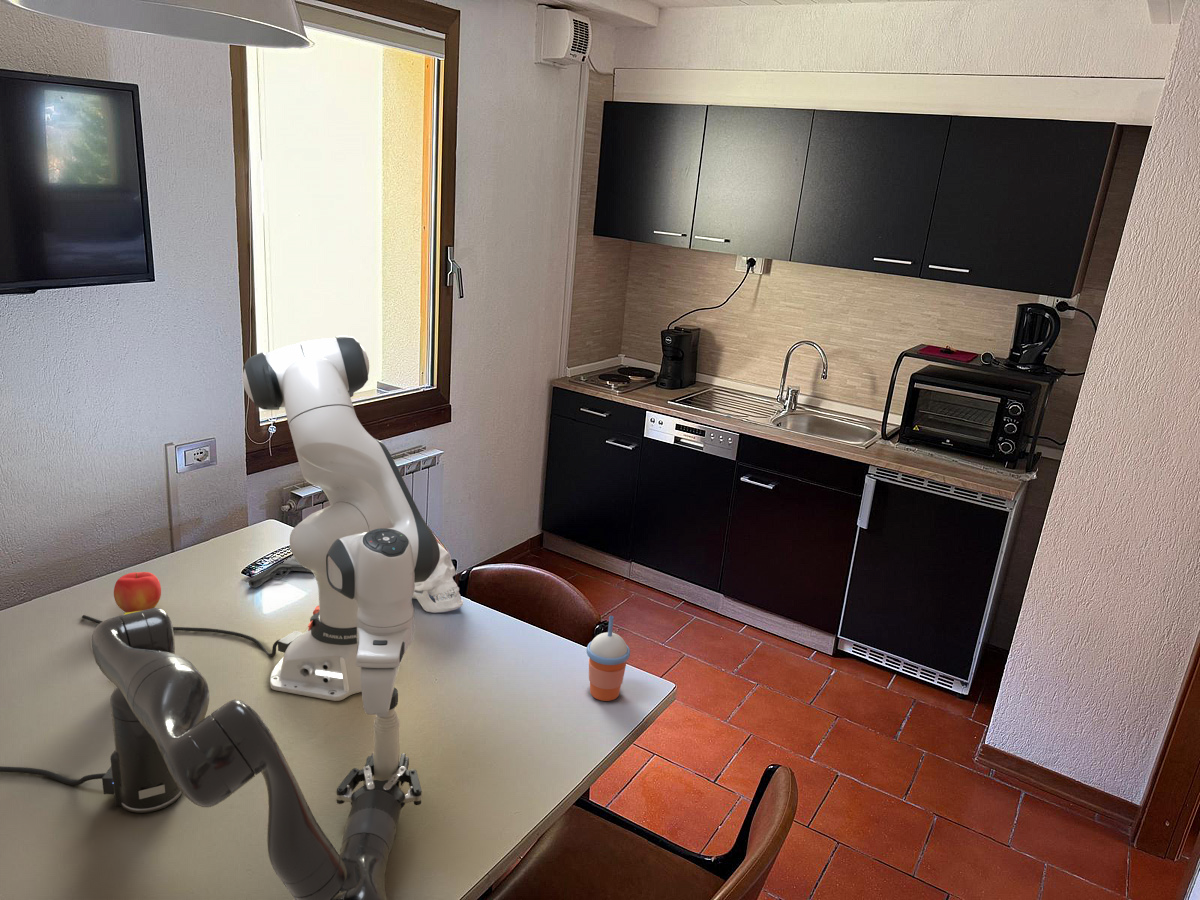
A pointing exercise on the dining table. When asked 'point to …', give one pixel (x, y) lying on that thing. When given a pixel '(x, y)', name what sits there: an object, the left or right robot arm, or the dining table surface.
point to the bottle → (386, 746)
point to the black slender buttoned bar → (277, 571)
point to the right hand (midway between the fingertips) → (385, 705)
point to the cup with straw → (607, 664)
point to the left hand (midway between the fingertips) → (388, 757)
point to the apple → (137, 591)
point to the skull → (439, 587)
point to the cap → (394, 699)
